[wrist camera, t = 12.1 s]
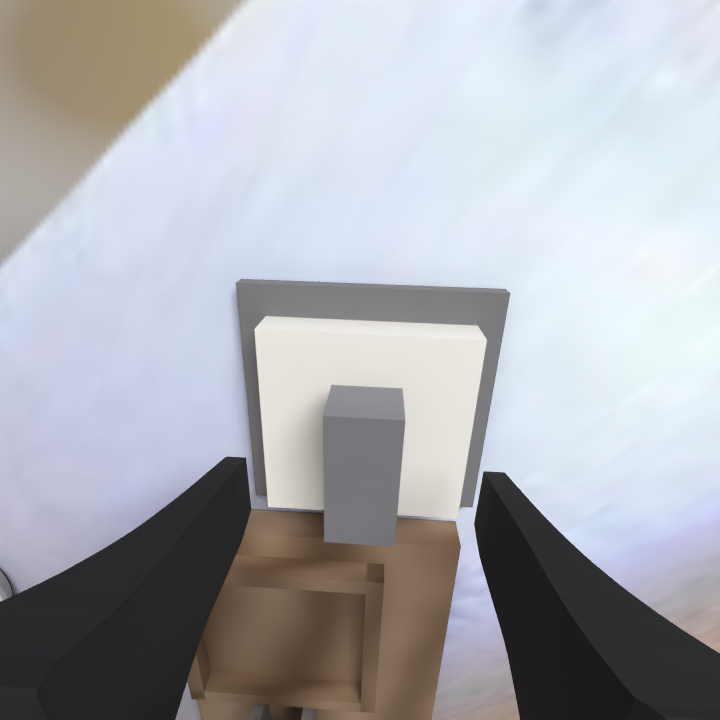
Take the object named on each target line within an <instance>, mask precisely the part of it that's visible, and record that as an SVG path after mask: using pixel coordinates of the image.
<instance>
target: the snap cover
mask: <svg viewBox="0 0 720 720" xmlns="http://www.w3.org/2000/svg"><path fill="white" fill-rule="evenodd" d="M254 331H255V343H256V356H257V369H258V382H259V395H260V408H261V421H262V433H263V446H264V459H265V472H266V485H267V498H268V507H277V508H293V509H309V510H324V542H332V543H347V544H362V545H378V546H393V547H395V535H396V524H397V515H406V516H422V517H438V518H454V519H458V513H459V507H460V501H461V495H462V489H463V483H464V477H465V471H466V464H467V458H468V452H469V446H470V440H471V434H472V428H473V422H474V416H475V410H476V404H477V398H478V392H479V386H480V379H481V373H482V367H483V361H484V355H485V349H486V343H487V339H486V338H485V336H484V334H483V333H482V331H481V330H480V328H479V327H478V326H475V325H453V324H430V323H408V322H386V321H364V320H342V319H319V318H297V317H275V316H265V318H264V319H263V320H262V321H261V322H260V323H259V324H258V326H257V327H256V328H255V329H254Z"/></svg>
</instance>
